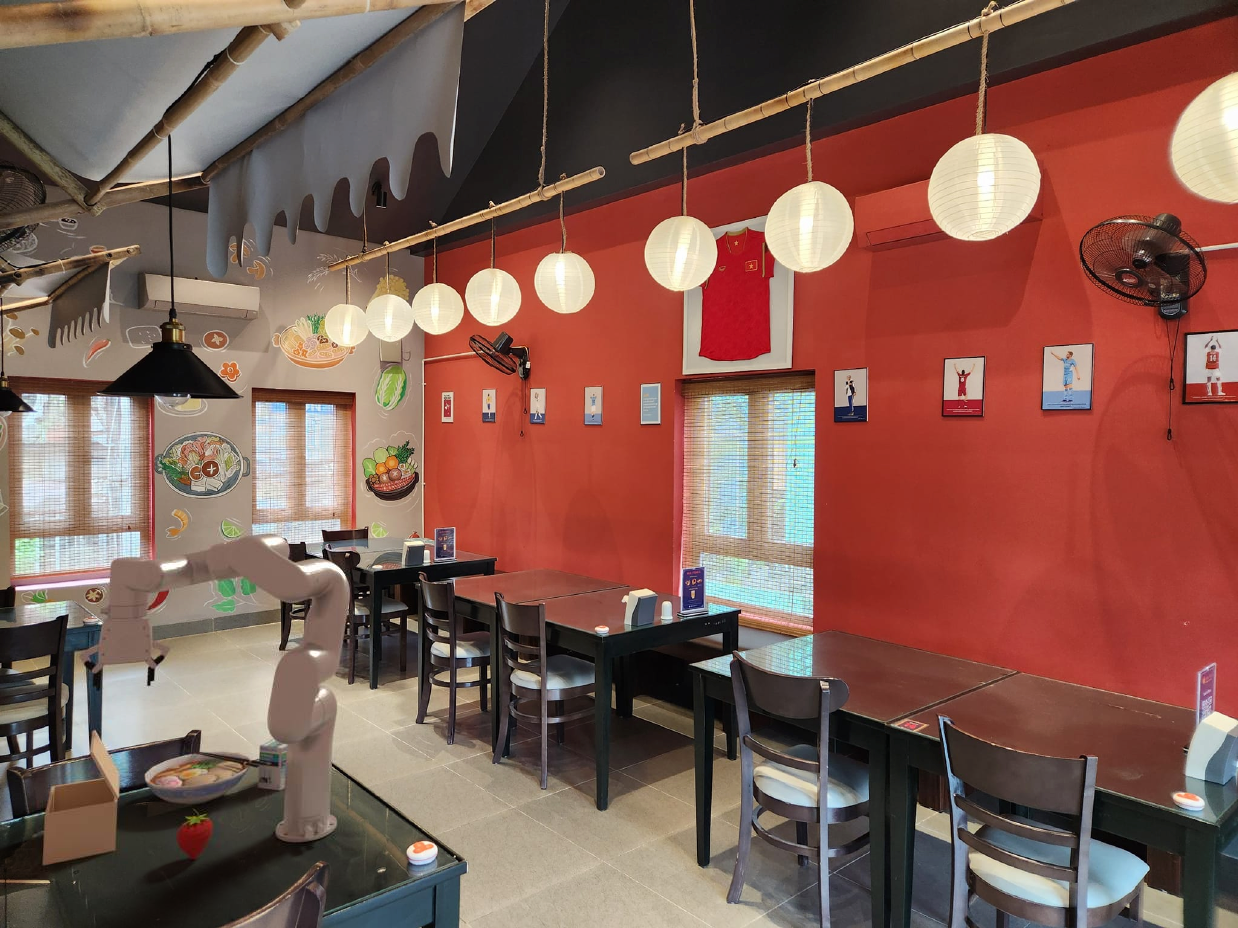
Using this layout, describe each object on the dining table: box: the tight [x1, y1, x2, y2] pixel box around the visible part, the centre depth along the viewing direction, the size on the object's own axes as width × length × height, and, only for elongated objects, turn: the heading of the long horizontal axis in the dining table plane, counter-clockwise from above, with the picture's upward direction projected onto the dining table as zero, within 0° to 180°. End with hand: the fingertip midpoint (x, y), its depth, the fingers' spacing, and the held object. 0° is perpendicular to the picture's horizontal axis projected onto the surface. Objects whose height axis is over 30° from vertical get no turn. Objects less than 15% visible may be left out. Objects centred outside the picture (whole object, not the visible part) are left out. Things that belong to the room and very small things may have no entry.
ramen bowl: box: [144, 749, 265, 805], centre depth 182 cm, size 25×23×8 cm
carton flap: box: [89, 729, 120, 800], centre depth 161 cm, size 16×12×1 cm
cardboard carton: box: [42, 777, 118, 866], centre depth 159 cm, size 16×12×10 cm
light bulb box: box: [257, 738, 287, 791], centre depth 193 cm, size 11×7×11 cm, turn 168°
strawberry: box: [176, 808, 214, 860], centre depth 153 cm, size 6×8×10 cm
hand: (124, 686), depth 171 cm, fingers open, 9 cm apart
